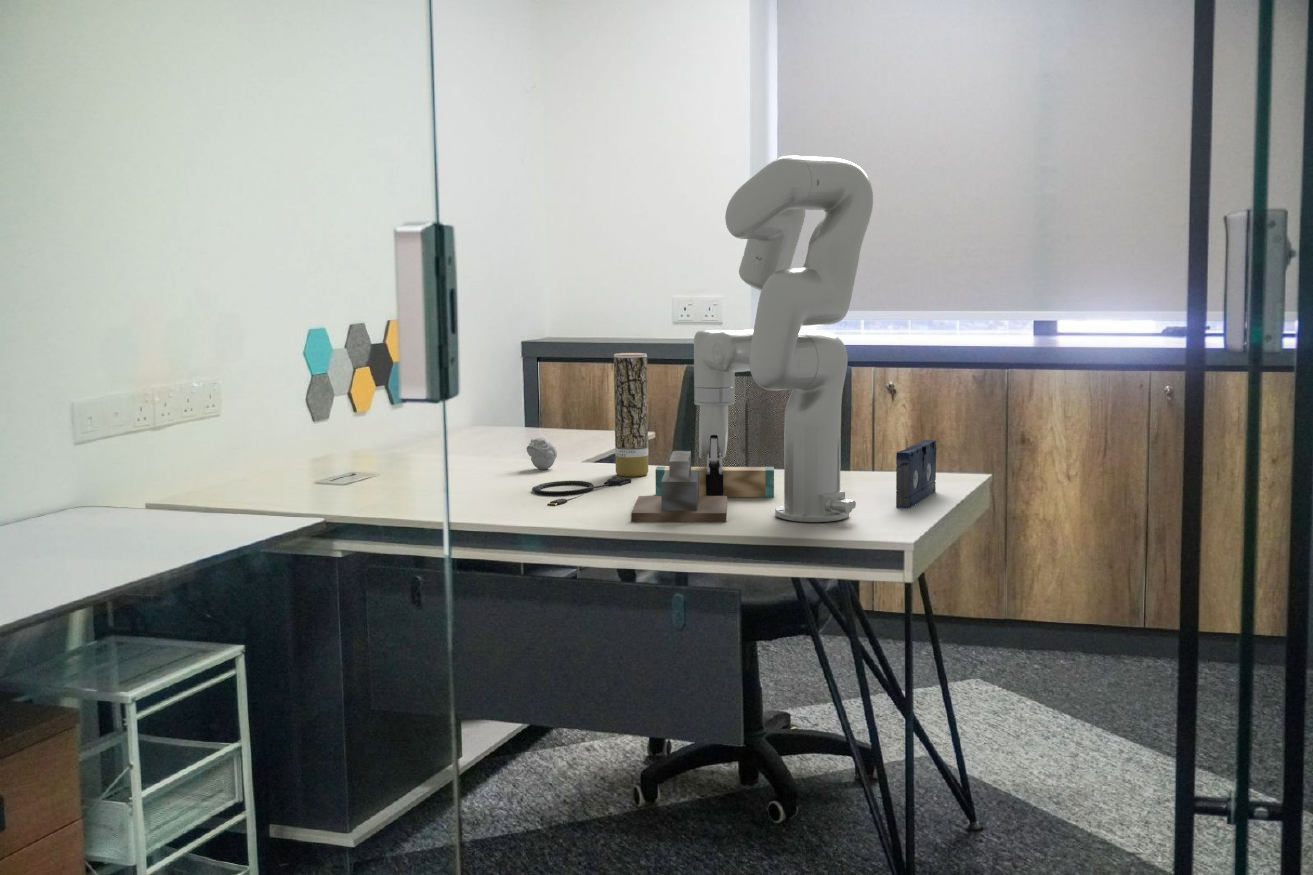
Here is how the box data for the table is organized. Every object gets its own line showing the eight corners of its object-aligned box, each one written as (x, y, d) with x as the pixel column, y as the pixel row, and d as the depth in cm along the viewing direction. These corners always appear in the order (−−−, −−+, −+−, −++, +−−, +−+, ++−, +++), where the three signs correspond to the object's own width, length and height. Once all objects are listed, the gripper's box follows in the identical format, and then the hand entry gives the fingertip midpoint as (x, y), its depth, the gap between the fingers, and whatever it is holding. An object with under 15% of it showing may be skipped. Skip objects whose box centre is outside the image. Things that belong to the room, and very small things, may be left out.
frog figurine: (520, 470, 269) (519, 437, 268) (544, 466, 275) (543, 434, 274) (540, 473, 265) (540, 440, 265) (564, 468, 271) (563, 436, 270)
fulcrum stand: (727, 504, 228) (727, 449, 227) (726, 521, 213) (725, 463, 211) (638, 504, 230) (638, 449, 228) (631, 521, 214) (630, 463, 212)
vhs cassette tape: (923, 491, 240) (923, 439, 238) (938, 492, 238) (939, 440, 237) (892, 508, 224) (893, 452, 222) (909, 509, 222) (910, 453, 221)
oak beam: (773, 493, 239) (773, 466, 238) (773, 497, 235) (774, 470, 234) (657, 493, 240) (656, 466, 240) (655, 496, 236) (655, 469, 236)
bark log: (644, 477, 258) (643, 355, 254) (612, 477, 259) (610, 355, 256) (651, 472, 264) (650, 353, 261) (619, 471, 266) (617, 352, 262)
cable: (494, 503, 235) (494, 495, 235) (576, 480, 259) (575, 472, 259) (555, 509, 229) (555, 501, 228) (633, 484, 253) (633, 477, 253)
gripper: (695, 391, 243) (696, 485, 246) (692, 401, 227) (693, 501, 229) (734, 391, 243) (735, 485, 245) (734, 401, 226) (734, 501, 229)
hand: (714, 492), depth 237 cm, fingers closed on oak beam, 4 cm apart
